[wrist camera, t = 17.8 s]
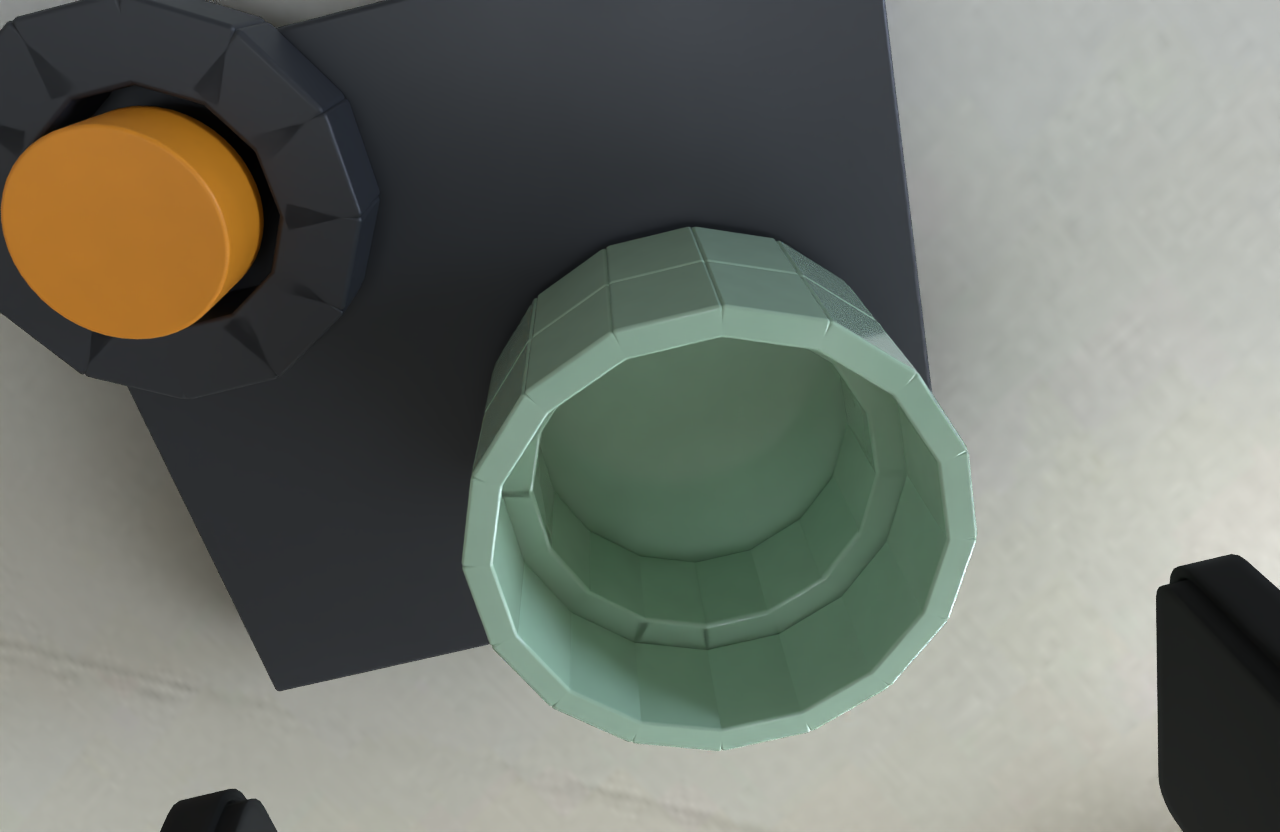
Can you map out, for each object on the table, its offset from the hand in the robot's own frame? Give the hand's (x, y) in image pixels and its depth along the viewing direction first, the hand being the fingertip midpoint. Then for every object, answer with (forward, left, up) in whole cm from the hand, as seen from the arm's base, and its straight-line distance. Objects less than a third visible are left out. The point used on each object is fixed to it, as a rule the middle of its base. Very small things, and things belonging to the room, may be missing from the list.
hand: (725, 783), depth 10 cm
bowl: (+1, 0, -9) cm, 9 cm away
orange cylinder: (-7, +6, -8) cm, 12 cm away
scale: (-2, +2, -10) cm, 11 cm away
